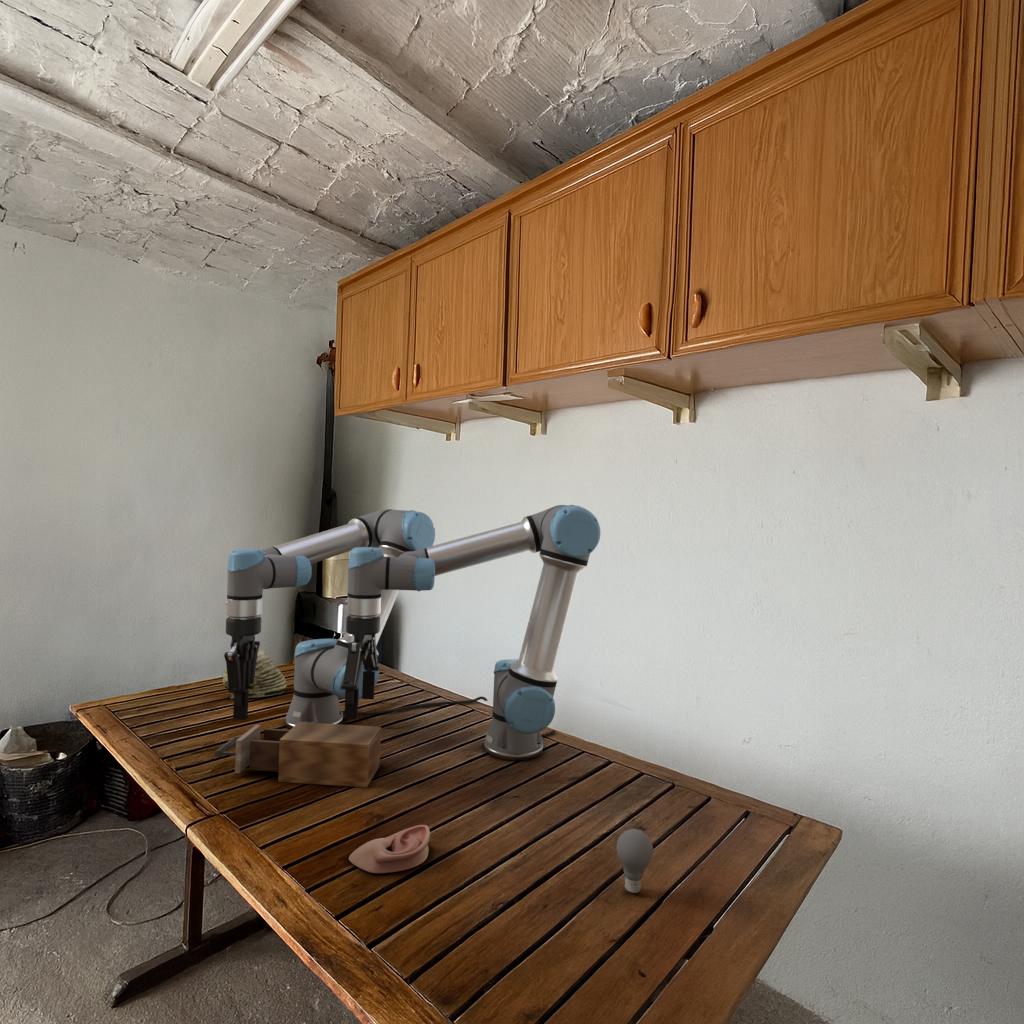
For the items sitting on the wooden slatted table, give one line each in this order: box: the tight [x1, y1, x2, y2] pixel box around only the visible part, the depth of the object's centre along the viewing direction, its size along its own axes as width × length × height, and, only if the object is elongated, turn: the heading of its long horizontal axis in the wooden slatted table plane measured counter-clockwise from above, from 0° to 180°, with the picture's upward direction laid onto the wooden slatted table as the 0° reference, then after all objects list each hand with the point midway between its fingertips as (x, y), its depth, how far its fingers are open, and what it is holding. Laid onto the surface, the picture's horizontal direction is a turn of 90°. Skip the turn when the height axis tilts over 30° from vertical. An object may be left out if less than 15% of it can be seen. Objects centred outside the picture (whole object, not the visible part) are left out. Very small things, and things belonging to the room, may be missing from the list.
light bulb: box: [615, 828, 654, 894], centre depth 106 cm, size 6×6×10 cm
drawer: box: [214, 724, 291, 774], centre depth 145 cm, size 24×10×7 cm, turn 87°
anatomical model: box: [348, 824, 431, 874], centre depth 113 cm, size 13×4×12 cm
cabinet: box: [277, 722, 382, 788], centre depth 145 cm, size 20×11×10 cm, turn 87°
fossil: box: [222, 647, 288, 699], centre depth 198 cm, size 9×18×15 cm, turn 132°
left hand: (240, 718), depth 146 cm, fingers closed
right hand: (359, 708), depth 144 cm, fingers open, 13 cm apart
